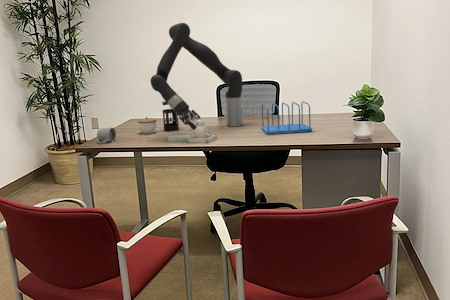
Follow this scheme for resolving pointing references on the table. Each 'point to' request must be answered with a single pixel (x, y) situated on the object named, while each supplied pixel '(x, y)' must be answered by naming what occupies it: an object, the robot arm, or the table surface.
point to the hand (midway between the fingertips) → (199, 127)
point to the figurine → (201, 129)
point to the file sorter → (286, 128)
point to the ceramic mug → (106, 135)
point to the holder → (207, 140)
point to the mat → (178, 138)
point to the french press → (170, 119)
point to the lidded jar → (147, 125)
